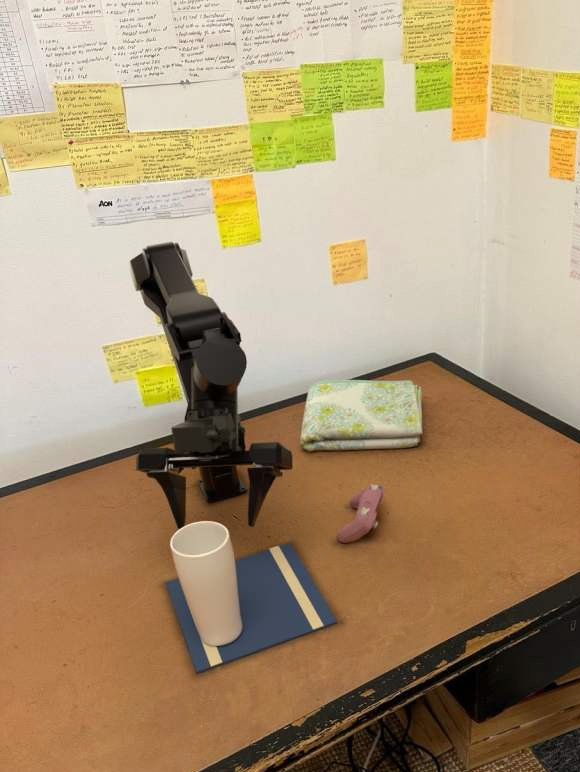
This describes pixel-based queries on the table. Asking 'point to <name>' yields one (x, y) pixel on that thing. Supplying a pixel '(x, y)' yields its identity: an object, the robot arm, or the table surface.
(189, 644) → the cloth
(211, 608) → the white tapered cup
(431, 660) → the table surface
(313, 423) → the towel
